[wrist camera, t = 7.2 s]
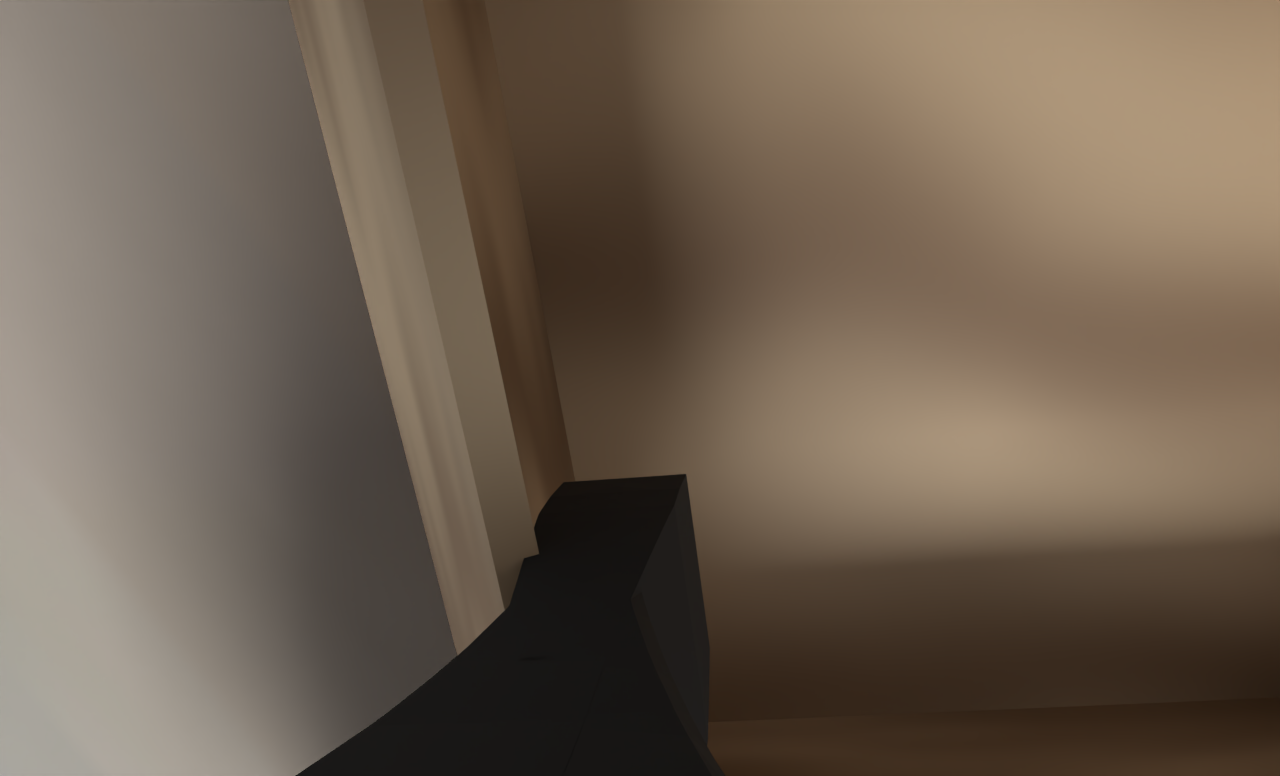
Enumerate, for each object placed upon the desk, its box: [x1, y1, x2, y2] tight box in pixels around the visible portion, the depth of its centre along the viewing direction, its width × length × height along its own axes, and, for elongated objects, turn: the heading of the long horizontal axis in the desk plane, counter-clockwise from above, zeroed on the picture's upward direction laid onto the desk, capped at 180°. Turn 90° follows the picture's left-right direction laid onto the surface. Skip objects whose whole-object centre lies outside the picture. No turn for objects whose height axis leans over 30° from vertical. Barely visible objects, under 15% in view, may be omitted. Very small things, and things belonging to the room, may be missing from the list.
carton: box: [422, 0, 1280, 776], centre depth 14 cm, size 17×12×4 cm
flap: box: [288, 0, 539, 656], centre depth 11 cm, size 15×1×4 cm, turn 8°
